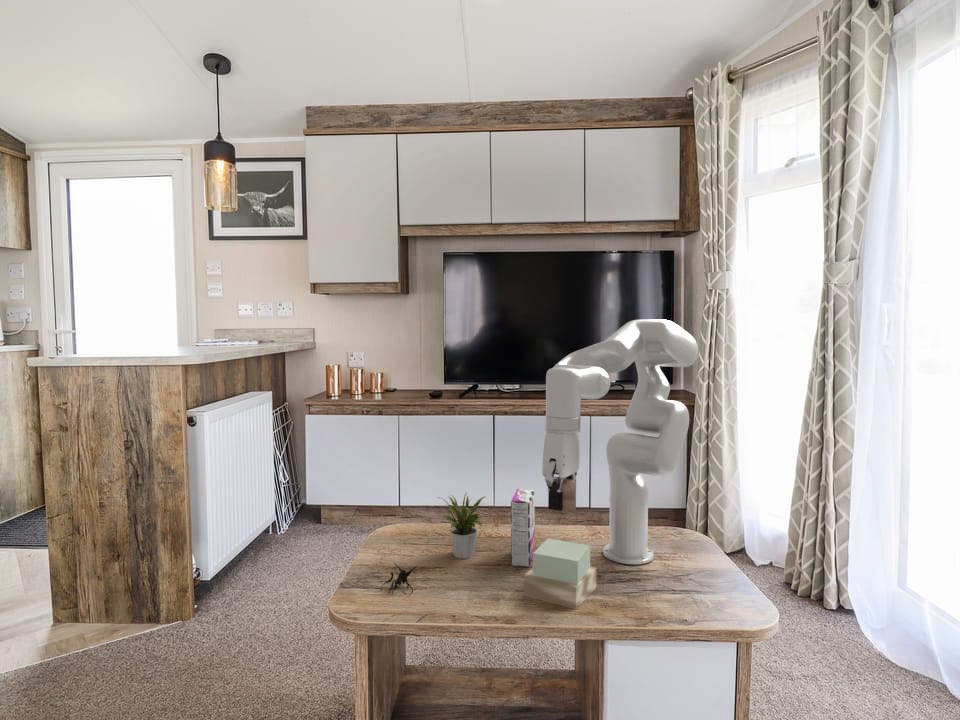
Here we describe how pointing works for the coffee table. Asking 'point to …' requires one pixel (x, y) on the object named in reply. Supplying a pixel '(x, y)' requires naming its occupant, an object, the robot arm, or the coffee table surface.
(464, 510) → the house plant
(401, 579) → the creature
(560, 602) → the tower base
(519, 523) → the candy bar box
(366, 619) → the coffee table surface
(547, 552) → the tower top
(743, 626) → the coffee table surface
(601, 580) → the coffee table surface
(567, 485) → the walnut cylinder
